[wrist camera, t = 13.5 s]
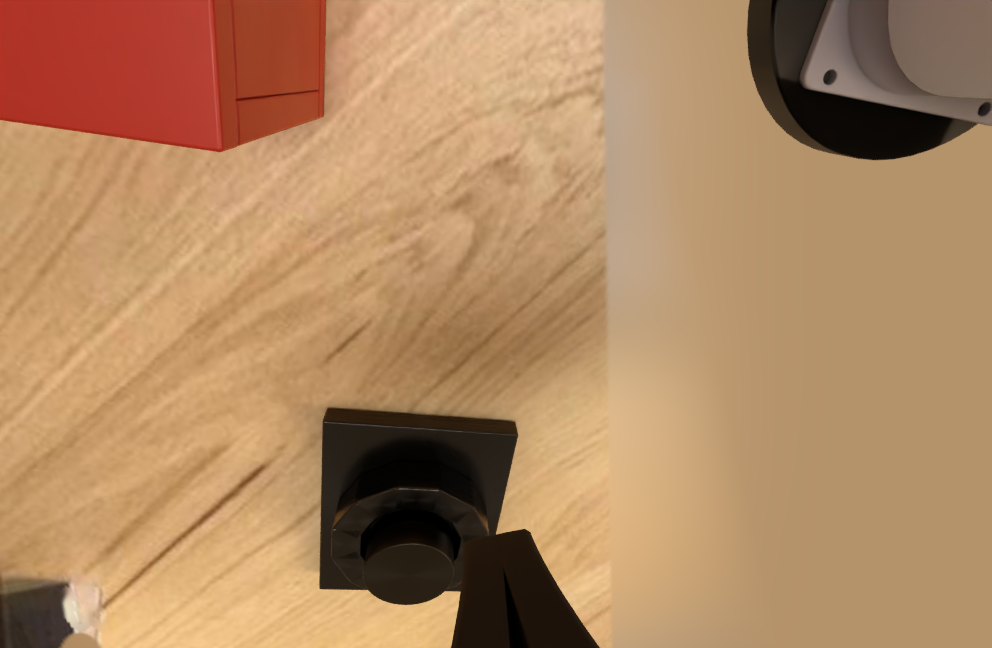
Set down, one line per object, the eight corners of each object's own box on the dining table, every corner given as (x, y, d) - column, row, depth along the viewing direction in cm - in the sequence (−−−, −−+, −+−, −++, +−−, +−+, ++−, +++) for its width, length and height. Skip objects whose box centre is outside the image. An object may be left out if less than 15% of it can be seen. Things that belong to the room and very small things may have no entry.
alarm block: (516, 421, 22) (524, 460, 20) (481, 576, 26) (485, 623, 24) (326, 407, 21) (313, 447, 19) (322, 573, 25) (311, 622, 23)
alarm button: (458, 510, 21) (459, 545, 20) (447, 569, 23) (448, 605, 21) (370, 506, 21) (365, 542, 19) (365, 567, 22) (360, 604, 20)
